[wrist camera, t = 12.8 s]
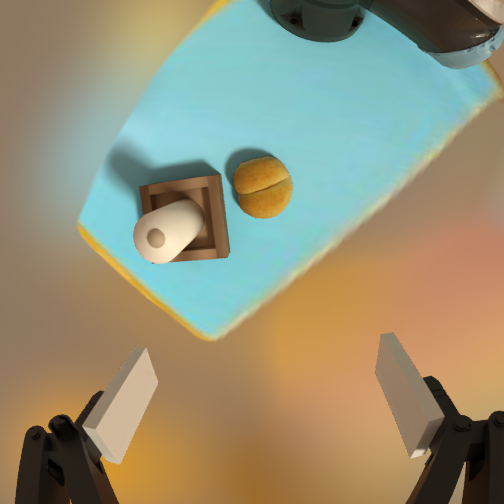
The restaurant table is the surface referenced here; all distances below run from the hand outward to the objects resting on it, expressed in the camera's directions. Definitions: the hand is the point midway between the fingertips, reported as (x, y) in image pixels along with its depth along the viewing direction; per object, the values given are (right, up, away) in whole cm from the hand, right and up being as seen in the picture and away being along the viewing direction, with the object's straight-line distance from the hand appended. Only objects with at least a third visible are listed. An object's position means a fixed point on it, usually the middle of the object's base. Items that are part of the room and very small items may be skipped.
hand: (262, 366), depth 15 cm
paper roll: (-10, +11, +28) cm, 32 cm away
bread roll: (+1, +16, +28) cm, 32 cm away
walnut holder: (-10, +11, +29) cm, 33 cm away
